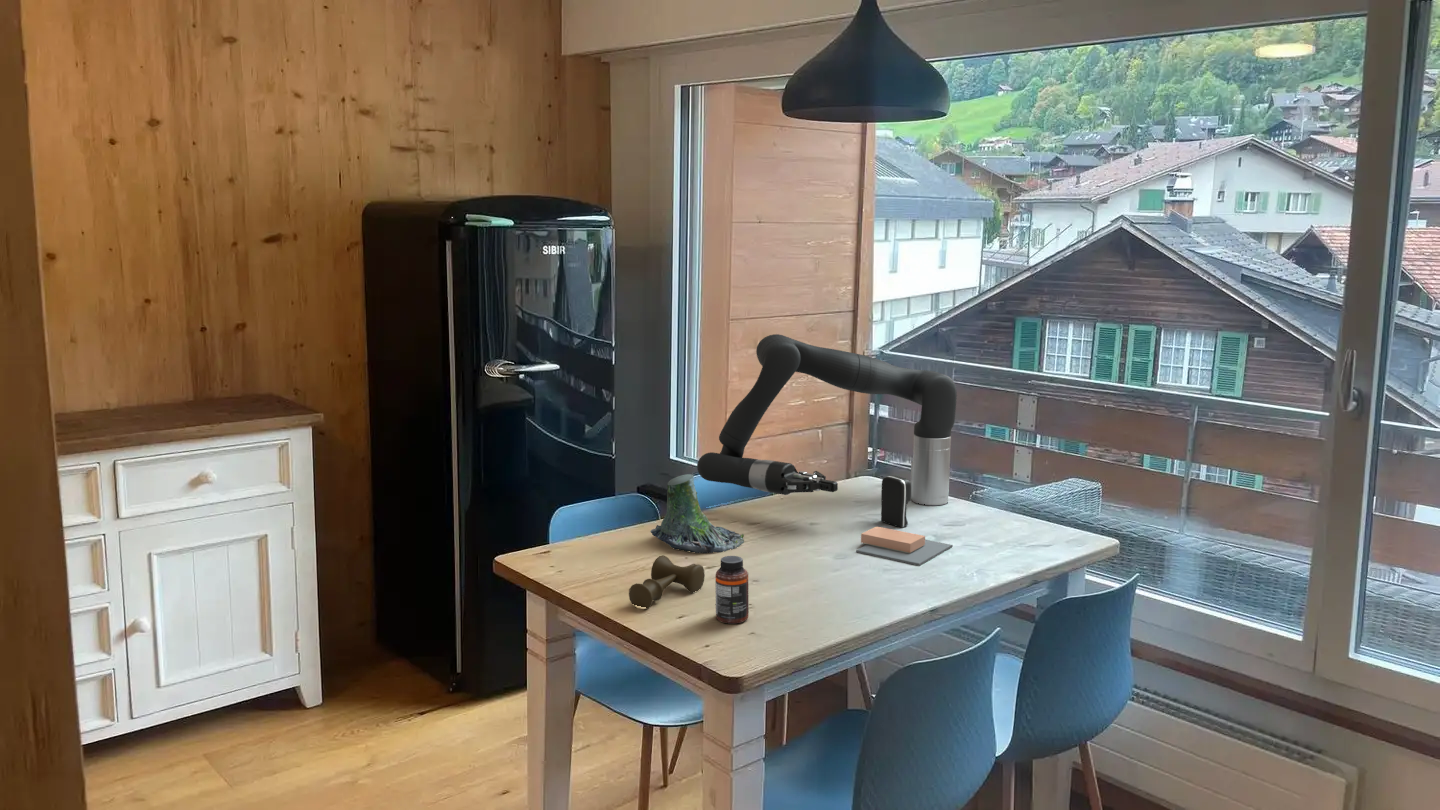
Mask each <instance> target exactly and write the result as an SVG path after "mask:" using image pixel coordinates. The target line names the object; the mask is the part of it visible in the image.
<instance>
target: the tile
mask: <svg viewBox="0 0 1440 810" xmlns="http://www.w3.org/2000/svg"><path fill="white" fill-rule="evenodd" d="M860 536H861V537H860V543H861V544H863V545H872V546H876V547H881V548H886V549H891V550H895V551H900V552H905V553H911V552H913V551H915V550H917V549H919V548H921V547H922V546H924V545H925V540H926V535H921V534H916V533H911V532H908V531H907V532H906V531H902V530H897V529H896V530H895V529H891V528H887V527H882V526H881V527H880V526H875V527H872V528H870V529H868V530H865V531H863V532H862V533H860Z"/></svg>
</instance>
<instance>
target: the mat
mask: <svg viewBox="0 0 1440 810" xmlns="http://www.w3.org/2000/svg"><path fill="white" fill-rule="evenodd" d="M952 548H953V544H950V543H946V542H945V543H944V542H938V541H935V540H930V539H925V545H924V546H922V547H921V548H919V549H917V550H915V551H913V552H911V553H905V552H900V551H895V550H891V549H886V548H881V547H876V546H872V545H867V544H865V545H864V546H861V547H860V548H857V549H856V553H857V554H864V555H868V556H873V557H876V556H877V557H876V558H882V559H886V560H890V561H895V562H901V563H904V562H905V564H909V565H913V564H915V566H918V565H919V567H920V566H922V565H924V564H925V563H927V562H929V561H931V560H932V559H934V558H936V557H938V556H940V555H941V554H943V553H944V551H945V552H946V551H948V550H950V549H952ZM937 555H938V556H937ZM935 556H936V557H935ZM930 559H931V560H930ZM928 560H929V561H928ZM923 563H924V564H923ZM921 564H922V565H921Z"/></svg>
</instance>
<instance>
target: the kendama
mask: <svg viewBox="0 0 1440 810" xmlns="http://www.w3.org/2000/svg"><path fill="white" fill-rule="evenodd" d="M704 582H705V569H704V567H703V565H701V564H695V563H692V564H691V565H688V566H679V565H676V564H674V563H673V562H672V561H671V559H670V558H669V557H668V556H666V555H665V554H663V555H659V556H657V558H655V559H654V561H653V563H652V566H651V571H650V578H646V579H644V580H643V582H642V583H634V584H632V585H631V586H630V588H629V590H628V599H629V601H630V603H631V605H632V604H634V605H637V606H641V607H646V608H648V609H650V608H649V607H651V606H652V604H653V602H657V601H659V600H661V599H662V598H663V595H664V594H663V592H664V591H665V590H666V589H667V588H668V587H669V586H670V585H671V584H673V583H675V584H678V585H681V586H683V587H684V588H685V589H686V590H687V591H688V592H690V593H691V594H694V593H693V592H695V591H698V590H699V589H700V590H702V587H703V585H704ZM700 590H699V591H700ZM699 591H698V592H699ZM653 600H654V601H653Z"/></svg>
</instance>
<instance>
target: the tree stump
mask: <svg viewBox="0 0 1440 810" xmlns="http://www.w3.org/2000/svg"><path fill="white" fill-rule="evenodd" d="M694 476H695V475H693V474H690V473H688V474H687V473H686V474H682V475H678V476H676V477H674V478H673V477H672V478H671V479H670V480H669V481H668V482H667V483H666V484H667V487H666V488H667V490H666V492H667V493H666V496H667V500H666V514H665V516H664V518H663V519H662V521H661V524H659V525H658V524H656V525H655V528H653V529H651V530H650V531H649V532H650V533H651V535H652V536H653V537H655V538H657V539H658V540H660V541H662V542H663V543H665V544H667V545H668V546H669V547H670V548H672V549H673V548H674V549H673V550H676V549H679V550H678V551H681V550H684V551H683V552H687V551H690V552H689V553H692V552H695V553H694V554H714V553H713V552H717V553H724V552H727V551H732V550H736V549H738V548H737V547H740V546H742V544H744V543H745V540H744V533H741V534H740V533H737V532H735V531H733V530H729V529H727V528H725V527H723V526H715V525H713V524H712V522H710V520H709V519H708V516H707V515H706V514H705V513H703V512H702V510H701V506H700V503H699V498H698V492H697V490H696V486H695V479H694ZM730 549H731V550H730ZM723 551H724V552H723Z"/></svg>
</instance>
